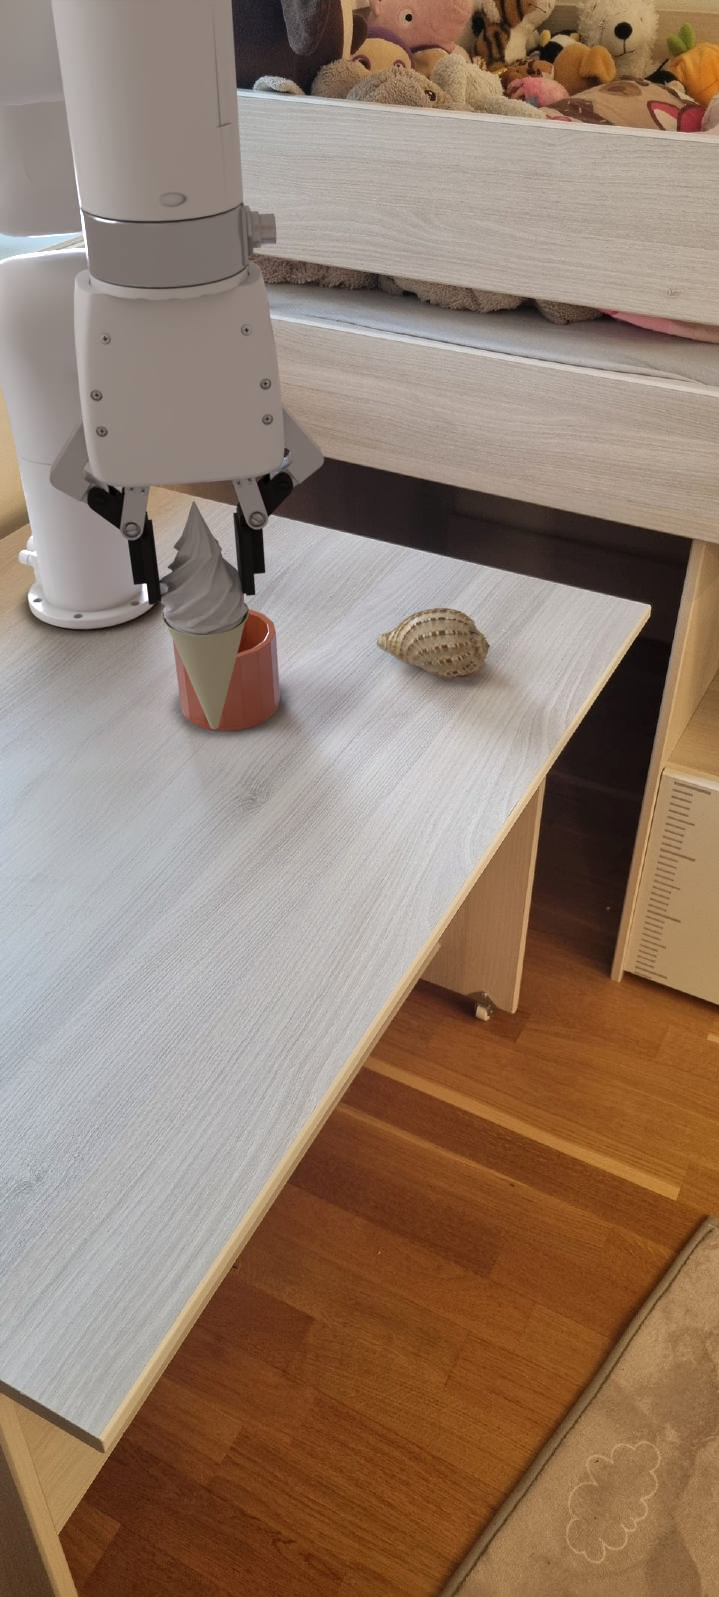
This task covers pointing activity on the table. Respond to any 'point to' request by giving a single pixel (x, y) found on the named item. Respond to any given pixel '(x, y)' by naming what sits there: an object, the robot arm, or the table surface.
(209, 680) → the ice cream cone
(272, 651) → the cone holder
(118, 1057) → the table surface
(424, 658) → the seashell
